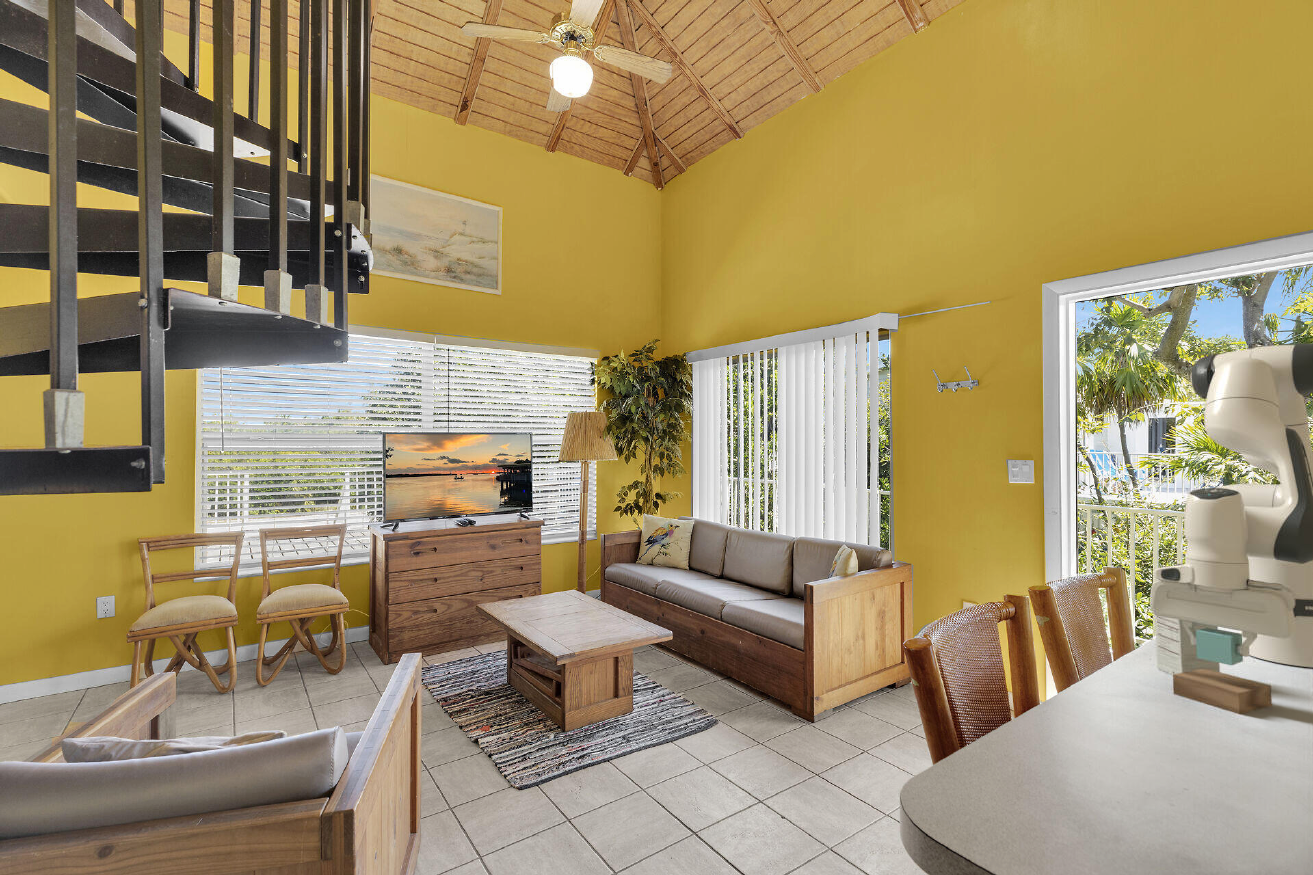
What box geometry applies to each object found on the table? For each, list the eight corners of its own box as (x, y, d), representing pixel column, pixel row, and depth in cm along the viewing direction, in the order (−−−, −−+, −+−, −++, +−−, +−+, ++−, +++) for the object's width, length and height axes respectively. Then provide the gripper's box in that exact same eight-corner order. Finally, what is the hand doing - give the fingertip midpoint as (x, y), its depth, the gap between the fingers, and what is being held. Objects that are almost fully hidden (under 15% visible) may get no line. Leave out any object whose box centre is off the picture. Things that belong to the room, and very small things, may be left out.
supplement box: (1193, 669, 130) (1190, 609, 130) (1221, 682, 123) (1219, 618, 123) (1155, 668, 131) (1153, 608, 131) (1181, 680, 123) (1179, 617, 124)
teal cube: (1208, 653, 117) (1207, 627, 117) (1242, 661, 113) (1241, 633, 113) (1196, 657, 115) (1195, 630, 115) (1231, 665, 110) (1230, 637, 110)
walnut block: (1205, 688, 120) (1204, 668, 120) (1271, 708, 111) (1271, 685, 111) (1173, 695, 116) (1173, 674, 116) (1239, 716, 107) (1238, 692, 107)
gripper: (1301, 583, 107) (1304, 663, 106) (1159, 566, 125) (1161, 634, 124) (1287, 587, 104) (1291, 669, 103) (1144, 568, 122) (1147, 639, 121)
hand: (1219, 650), depth 114 cm, fingers closed on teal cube, 5 cm apart
